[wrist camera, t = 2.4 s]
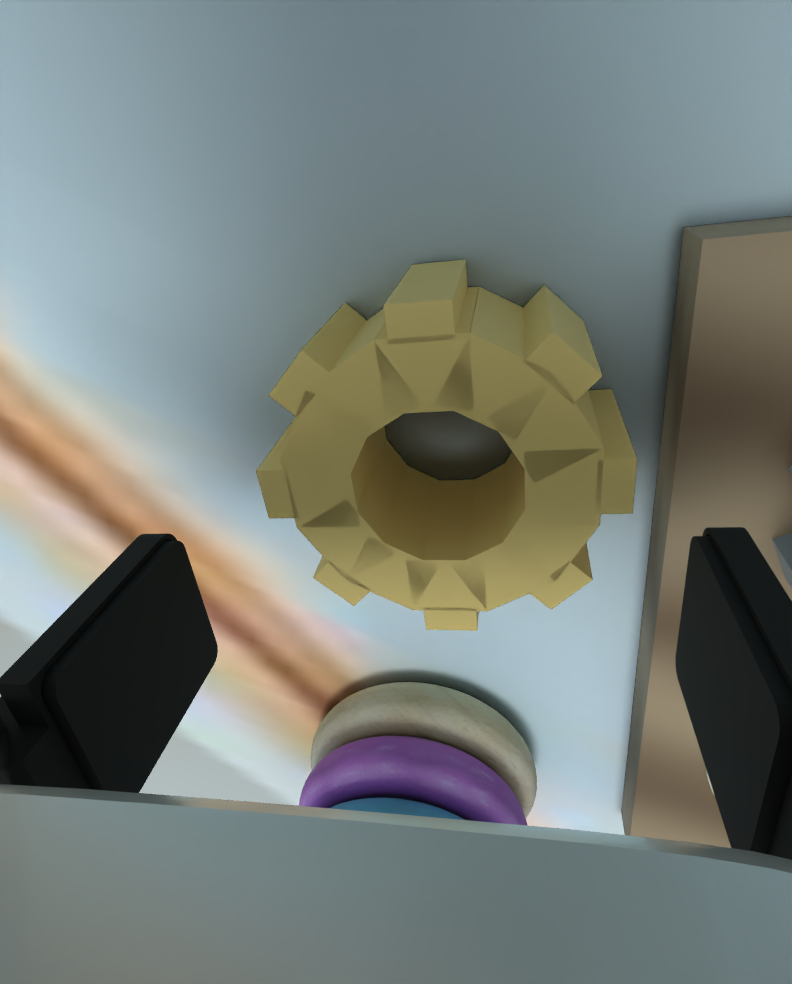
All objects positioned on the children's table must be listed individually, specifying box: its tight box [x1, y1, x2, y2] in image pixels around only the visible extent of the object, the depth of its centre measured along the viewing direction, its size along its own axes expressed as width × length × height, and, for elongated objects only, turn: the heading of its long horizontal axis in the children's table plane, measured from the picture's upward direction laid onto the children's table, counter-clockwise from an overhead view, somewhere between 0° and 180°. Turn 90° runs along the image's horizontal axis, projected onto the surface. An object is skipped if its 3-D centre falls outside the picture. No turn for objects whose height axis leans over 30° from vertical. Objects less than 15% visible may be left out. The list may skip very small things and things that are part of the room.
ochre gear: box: [256, 259, 637, 631], centre depth 14 cm, size 8×8×4 cm
